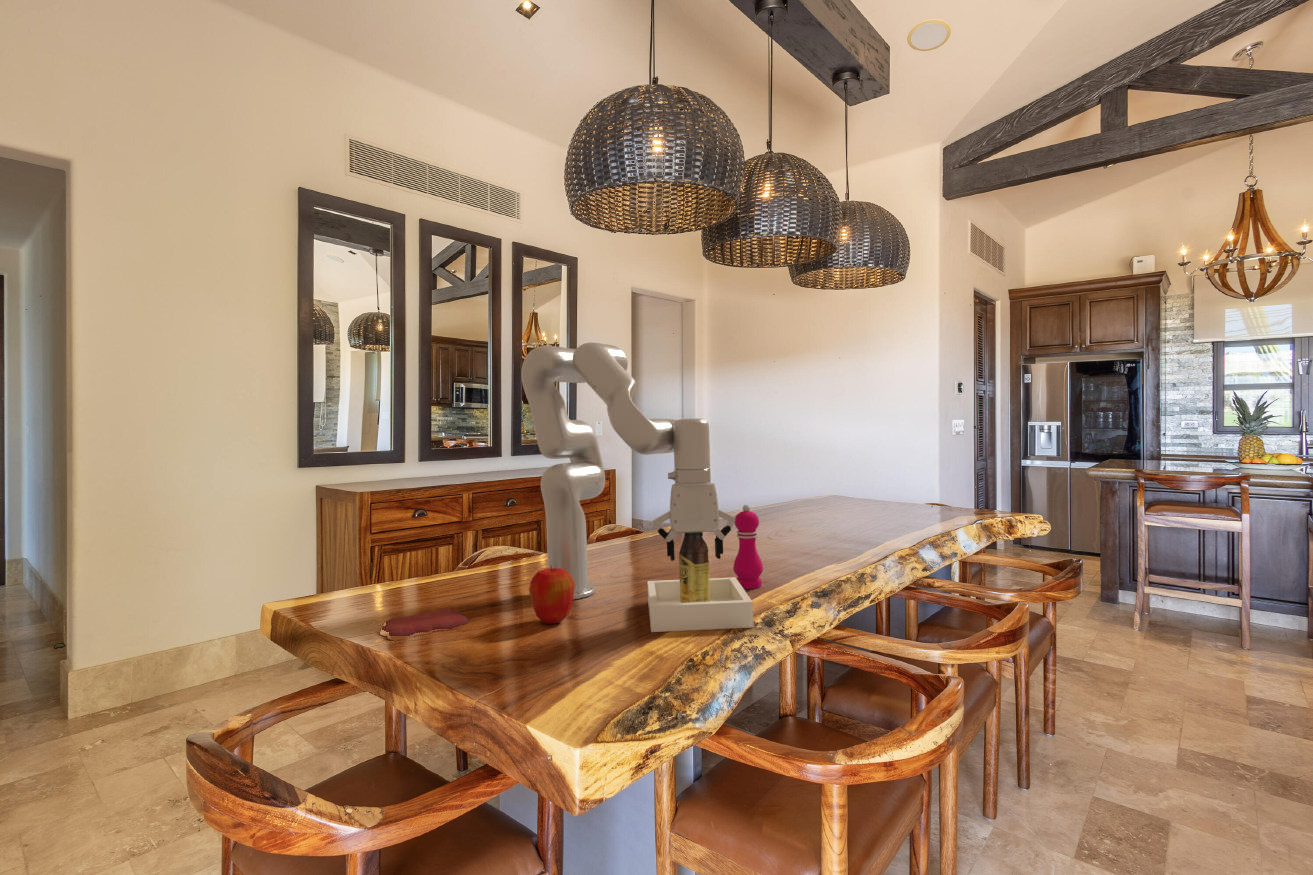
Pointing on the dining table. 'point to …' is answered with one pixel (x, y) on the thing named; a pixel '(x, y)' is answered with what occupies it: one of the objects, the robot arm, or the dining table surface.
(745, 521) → the pepper mill
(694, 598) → the sauce bottle
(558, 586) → the apple
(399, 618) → the patty
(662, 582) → the tray
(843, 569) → the dining table surface
